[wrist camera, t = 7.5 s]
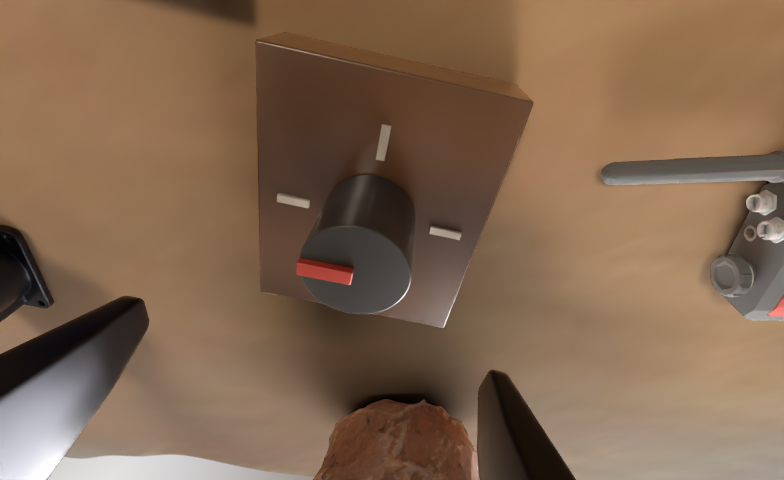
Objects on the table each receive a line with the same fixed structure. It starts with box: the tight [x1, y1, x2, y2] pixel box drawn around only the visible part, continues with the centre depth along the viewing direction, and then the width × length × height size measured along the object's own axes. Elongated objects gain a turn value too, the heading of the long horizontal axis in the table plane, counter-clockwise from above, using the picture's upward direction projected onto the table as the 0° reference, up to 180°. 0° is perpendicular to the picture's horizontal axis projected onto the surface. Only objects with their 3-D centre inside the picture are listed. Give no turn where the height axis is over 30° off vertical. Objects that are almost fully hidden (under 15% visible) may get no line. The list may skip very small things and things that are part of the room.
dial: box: [296, 175, 415, 314], centre depth 14 cm, size 4×4×4 cm
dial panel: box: [255, 32, 533, 328], centre depth 17 cm, size 12×10×3 cm
